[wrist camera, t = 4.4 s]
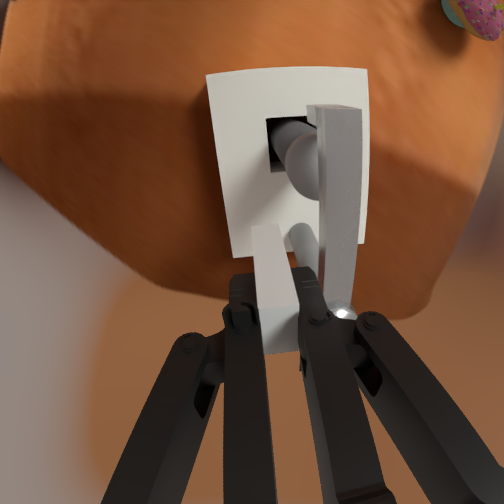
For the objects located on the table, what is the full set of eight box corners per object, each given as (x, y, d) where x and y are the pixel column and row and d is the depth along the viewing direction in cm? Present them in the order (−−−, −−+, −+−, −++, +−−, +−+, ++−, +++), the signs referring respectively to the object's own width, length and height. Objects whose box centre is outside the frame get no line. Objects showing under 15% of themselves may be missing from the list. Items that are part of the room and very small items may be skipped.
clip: (293, 105, 14) (310, 109, 10) (348, 104, 14) (380, 110, 10) (301, 309, 22) (310, 349, 18) (340, 304, 21) (355, 342, 18)
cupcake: (458, -18, 14) (520, -28, 4) (485, 37, 18) (550, 42, 8) (417, -16, 16) (482, -36, 6) (448, 45, 20) (520, 47, 10)
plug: (266, 118, 26) (285, 137, 15) (308, 115, 26) (354, 134, 15) (270, 158, 28) (290, 203, 18) (310, 155, 28) (353, 198, 17)
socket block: (210, 77, 23) (179, 62, 11) (351, 70, 23) (440, 66, 11) (233, 239, 33) (231, 338, 20) (351, 226, 33) (407, 311, 20)
